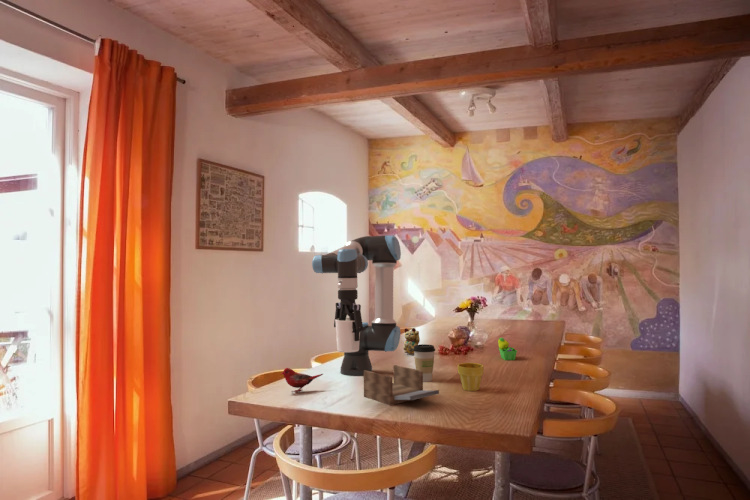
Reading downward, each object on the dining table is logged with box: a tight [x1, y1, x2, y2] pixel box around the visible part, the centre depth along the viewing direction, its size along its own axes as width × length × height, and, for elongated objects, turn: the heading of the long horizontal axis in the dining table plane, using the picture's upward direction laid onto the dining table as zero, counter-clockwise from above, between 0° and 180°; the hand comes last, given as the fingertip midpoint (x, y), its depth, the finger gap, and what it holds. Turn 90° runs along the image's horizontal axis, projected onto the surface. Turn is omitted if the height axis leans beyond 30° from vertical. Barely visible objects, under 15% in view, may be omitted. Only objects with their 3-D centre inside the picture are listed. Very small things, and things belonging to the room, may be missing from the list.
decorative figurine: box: [402, 327, 421, 356], centre depth 291 cm, size 10×8×15 cm
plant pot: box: [457, 362, 485, 392], centre depth 210 cm, size 10×10×10 cm
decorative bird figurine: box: [280, 367, 324, 393], centre depth 209 cm, size 3×18×10 cm, turn 113°
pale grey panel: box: [394, 389, 440, 401], centre depth 188 cm, size 1×13×10 cm
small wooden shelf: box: [363, 364, 424, 406], centre depth 198 cm, size 16×16×10 cm
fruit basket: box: [497, 337, 518, 361], centre depth 275 cm, size 11×9×11 cm
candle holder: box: [334, 317, 360, 353], centre depth 197 cm, size 10×10×12 cm
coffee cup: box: [413, 343, 436, 383], centre depth 227 cm, size 10×10×15 cm
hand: (348, 347), depth 197 cm, fingers closed on candle holder, 9 cm apart
